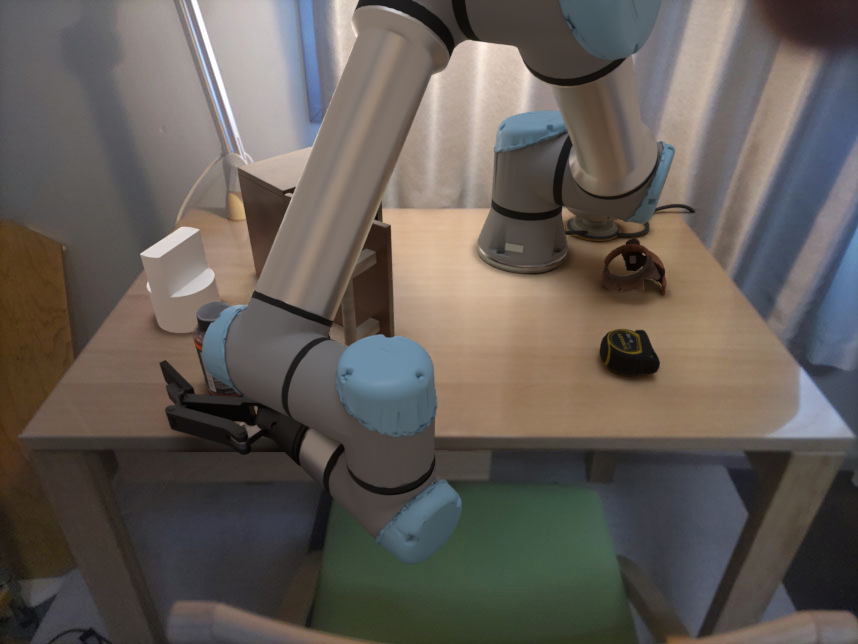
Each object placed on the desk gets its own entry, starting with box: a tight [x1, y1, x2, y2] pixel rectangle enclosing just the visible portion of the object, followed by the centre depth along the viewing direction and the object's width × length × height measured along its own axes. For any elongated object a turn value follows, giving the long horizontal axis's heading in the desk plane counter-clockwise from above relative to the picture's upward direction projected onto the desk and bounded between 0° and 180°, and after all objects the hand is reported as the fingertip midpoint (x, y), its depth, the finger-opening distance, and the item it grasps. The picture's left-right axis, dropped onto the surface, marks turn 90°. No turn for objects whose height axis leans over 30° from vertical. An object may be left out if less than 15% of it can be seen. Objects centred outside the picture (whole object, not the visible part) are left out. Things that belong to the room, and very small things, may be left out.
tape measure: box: [598, 328, 661, 377], centre depth 78 cm, size 7×7×4 cm
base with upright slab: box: [139, 226, 222, 334], centre depth 84 cm, size 9×9×12 cm
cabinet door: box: [284, 193, 396, 346], centre depth 79 cm, size 7×17×18 cm, turn 56°
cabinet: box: [236, 146, 384, 278], centre depth 93 cm, size 12×17×18 cm
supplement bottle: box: [192, 301, 243, 397], centre depth 72 cm, size 6×6×11 cm
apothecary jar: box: [565, 207, 621, 242], centre depth 106 cm, size 12×12×18 cm
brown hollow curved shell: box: [600, 237, 667, 296], centre depth 94 cm, size 12×10×8 cm
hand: (220, 345), depth 72 cm, fingers open, 13 cm apart
